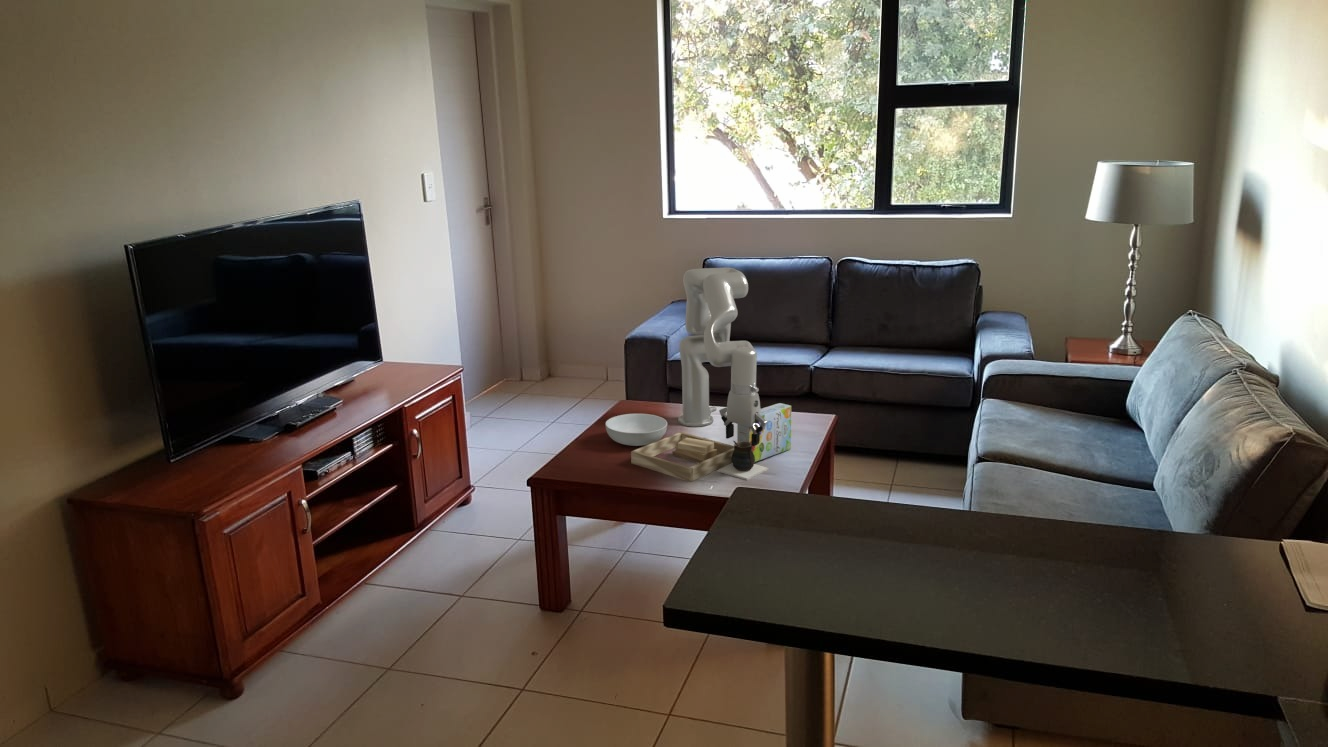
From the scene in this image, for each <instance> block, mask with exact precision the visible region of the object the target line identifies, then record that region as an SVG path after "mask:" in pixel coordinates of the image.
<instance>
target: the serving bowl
mask: <svg viewBox="0 0 1328 747" xmlns="http://www.w3.org/2000/svg"><path fill="white" fill-rule="evenodd" d="M604 426H605V430H606V432H607V435H608V436H609V437H610V438H611V440H612V441H614V442H616V443H618V444H621V445H624V446H625V445H626V446H633V447H640V446H641V447H643V446H646V445H649V444H652V443H654V442H657V441H659V440H662V439H663V437H664V435H665V434H666V432H667V429H668V421H667V420H666V419H665V418H663V417H661V416H659V415H655V414H648V413H625V414H620V415H617V416H616V415H615V416H612V417H610V418H608V419H607V420H606V421H605V425H604Z"/></svg>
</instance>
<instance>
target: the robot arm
mask: <svg viewBox="0 0 1328 747" xmlns="http://www.w3.org/2000/svg"><path fill="white" fill-rule="evenodd" d="M682 279H683V280H682V281H683V282H682V283H683V288H684V292H685V295H686V304H685V305H686V306H685V321H684V322H685V325H684V326H685V330H686V333H687V334H690V335H689V336H686V337H684V338H682V339H681V340H680V342H679V344H678V351H679V356H680V357H679V358H680V362H681V364H680V365H681V384H682V388H681V390H682V392H681V393H682V399H681V400H682V415H680V416H679V417H678V421H677V422H678V423H679V424H680V425H682V426H685V427H706V426H708V425H711V424H713V423H714V417H713V416H712V415H711V413H714V412H716V411H717V407H716V406H715V405H713V406H710V380H709V379H710V375H709V372H708V370H707V369H706V368H705V367H704V366H703V363H706V362H707V363H708V362H709V364H710V365H711V366H712V367H716V368H721V367H730V375H731V376H730V390H729V392H728V396H727V403H726V407H724V408H721V409H719V410H718V411H719V414H720V416H721V420H722V421H723V425H724V426H725V439H727V440H728V439H730V438H733V437H734V435H735V426H734V425H735V424H737V425H738V424H740V425H743V426H747V427H750V428H751V430H752V432H753V434H752V437H751V445H752V446H756V445H758V444H759V441H760V432H761V431H762V430H763V429H765V426H766V424H767V421H766V420H765V419H764V418H763V417H762V416H761V410H760V409H761V401H760V396H759V393H758V392H759V391H760V389H759V387H757V363H758V362H757V359H758V358H757V357H758V356H757V355H758V354H757V351H756V349H755V348H754V346H753V345H752V343H751V342H750V341H748V340H730V337H731V329H732V328H731V327H732V322H734V321H735V320H736V318H737V317H738V308H737V305H736V302H735V299H741V298H745V297H746V296H747V295H748V292H749V283H748V280H747V277H746V276H745V274H744V273H743V272H742V271H740V270H737V269H735V268H733V267H728V266H727V267H725V266H724V267H705V268H693V269H688V270H686V271H685V272H684V274H683V278H682ZM733 423H734V424H733ZM759 423H761V424H760V426H759ZM754 426H755V427H756V429H755V427H754Z"/></svg>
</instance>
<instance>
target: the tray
mask: <svg viewBox="0 0 1328 747" xmlns="http://www.w3.org/2000/svg"><path fill="white" fill-rule="evenodd" d="M685 438H692V439H698V440H704V441H710V442H714V448H713V449H717V456H714V457H712V458H710V459H707V460H705V461H703V462H701V463H697V464H694V465H692V466H687V465H684V464H680V463H677V462H674V461H671V460H670V461H669V460H667V459H663V458H661V457H657V455H660V454H662V453H663V454H664V452H668V451H670V450H673V449H676V446H678V443H679V442H680V441H682V440H684V439H685ZM733 451H734V445H732V444H729V443H724V442H721V441H716V440H712V439H709V438H705V437H701V436H698V435H695V434H691V433H686V432H683V431H680V432H677V433H674V434H672V435H670V436H667V437H664V438H661V439H660V440H658V441H656V442H654V443H652V444H648V445H643V446H641V447H639V448H636V449H634V450H632V451H630V456H631V457H630V458H631V459H630V460H631V461H630V462H631V463H630V464H632V465H634V466H635V465H636V466H638V467H642V468H645V469H648V470H651V471H654V472H657V473H661V474H664V475H668V476H671V477H674V478H676V479H680V480H684V481H687V482H690V483H691V482H693V481H695V480H698V479H699V478H701V477H702V478H703V477H704V476H706V475H708V474H710V473H714V471H718V470H719V469H721V468H723V467H725V466H727V465H730V464H732V462H731V457H732V454H733Z"/></svg>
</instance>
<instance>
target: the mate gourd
mask: <svg viewBox="0 0 1328 747" xmlns="http://www.w3.org/2000/svg"><path fill="white" fill-rule="evenodd" d="M732 442H733V443H734V444H733V446H734V451H733V454H732V457H731V462H732V463H733V466H734V467H735V468H736V469H737V470H740V471H747V470H750V469H752V467H753V466H754V464H755V463H756V462H755V456H754V454H753V451H752V445H751V443H750V442H745V441H740V442H736V441H735V440H733V441H732ZM732 463H731V464H732Z"/></svg>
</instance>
